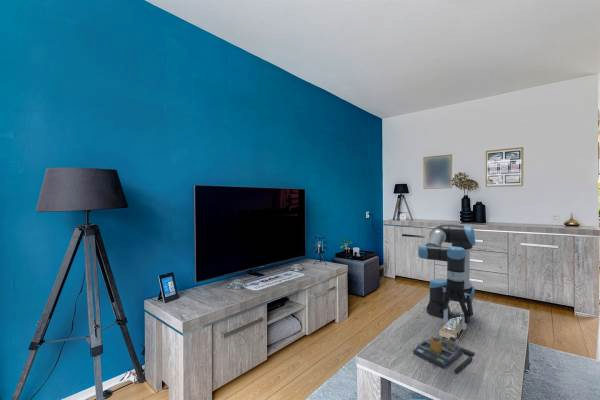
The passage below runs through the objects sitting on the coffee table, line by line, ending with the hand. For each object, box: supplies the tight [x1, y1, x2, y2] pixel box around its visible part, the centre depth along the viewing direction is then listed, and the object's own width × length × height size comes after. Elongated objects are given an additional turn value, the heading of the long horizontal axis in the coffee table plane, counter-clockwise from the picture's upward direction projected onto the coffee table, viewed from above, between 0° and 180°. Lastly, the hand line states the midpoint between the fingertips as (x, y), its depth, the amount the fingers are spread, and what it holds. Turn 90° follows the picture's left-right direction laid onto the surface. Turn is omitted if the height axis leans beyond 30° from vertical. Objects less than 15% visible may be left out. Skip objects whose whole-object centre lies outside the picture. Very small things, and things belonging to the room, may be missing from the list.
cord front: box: [437, 337, 475, 358], centre depth 151 cm, size 3×21×2 cm, turn 37°
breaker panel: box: [413, 336, 463, 370], centre depth 144 cm, size 19×16×9 cm
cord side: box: [453, 356, 473, 374], centre depth 134 cm, size 17×2×2 cm, turn 127°
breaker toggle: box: [430, 336, 442, 354], centre depth 143 cm, size 4×4×7 cm
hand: (454, 325), depth 135 cm, fingers open, 8 cm apart
